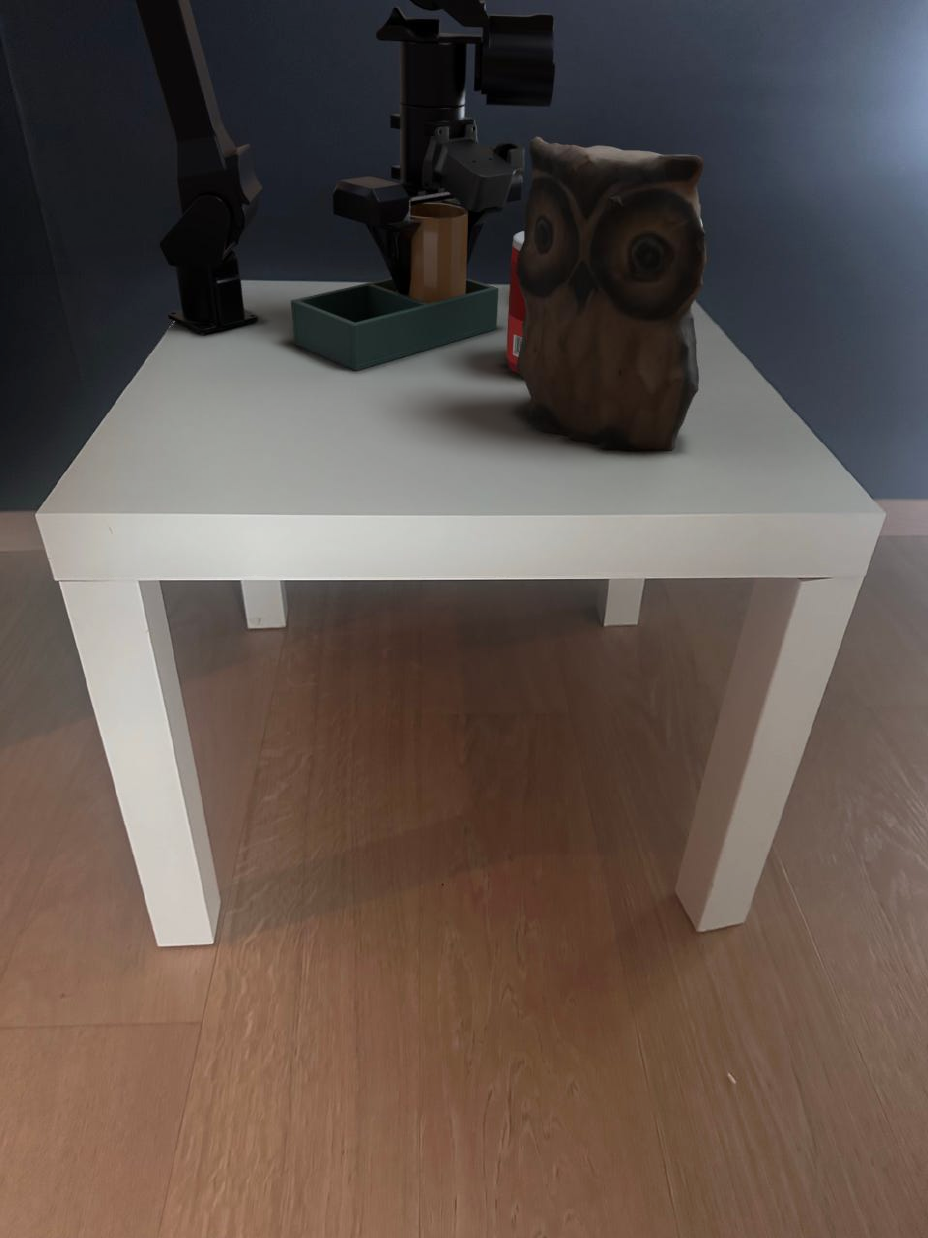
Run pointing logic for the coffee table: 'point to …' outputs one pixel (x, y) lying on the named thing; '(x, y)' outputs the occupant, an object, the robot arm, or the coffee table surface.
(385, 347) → the divided storage box
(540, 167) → the owl
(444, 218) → the bamboo cup
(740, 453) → the coffee table surface
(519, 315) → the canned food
